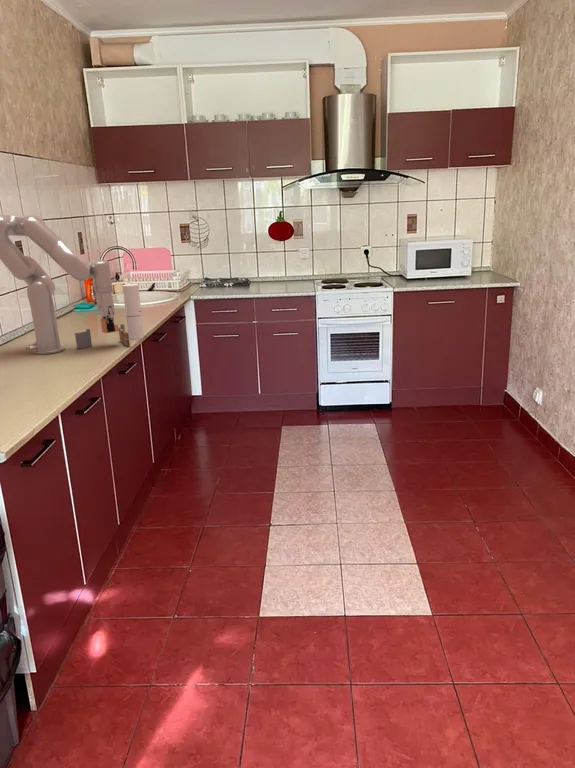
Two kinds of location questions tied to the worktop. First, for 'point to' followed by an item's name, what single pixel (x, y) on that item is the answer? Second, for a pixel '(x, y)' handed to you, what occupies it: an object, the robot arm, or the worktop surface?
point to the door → (124, 337)
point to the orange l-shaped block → (104, 326)
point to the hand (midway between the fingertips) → (109, 330)
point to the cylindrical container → (133, 311)
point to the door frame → (86, 338)
